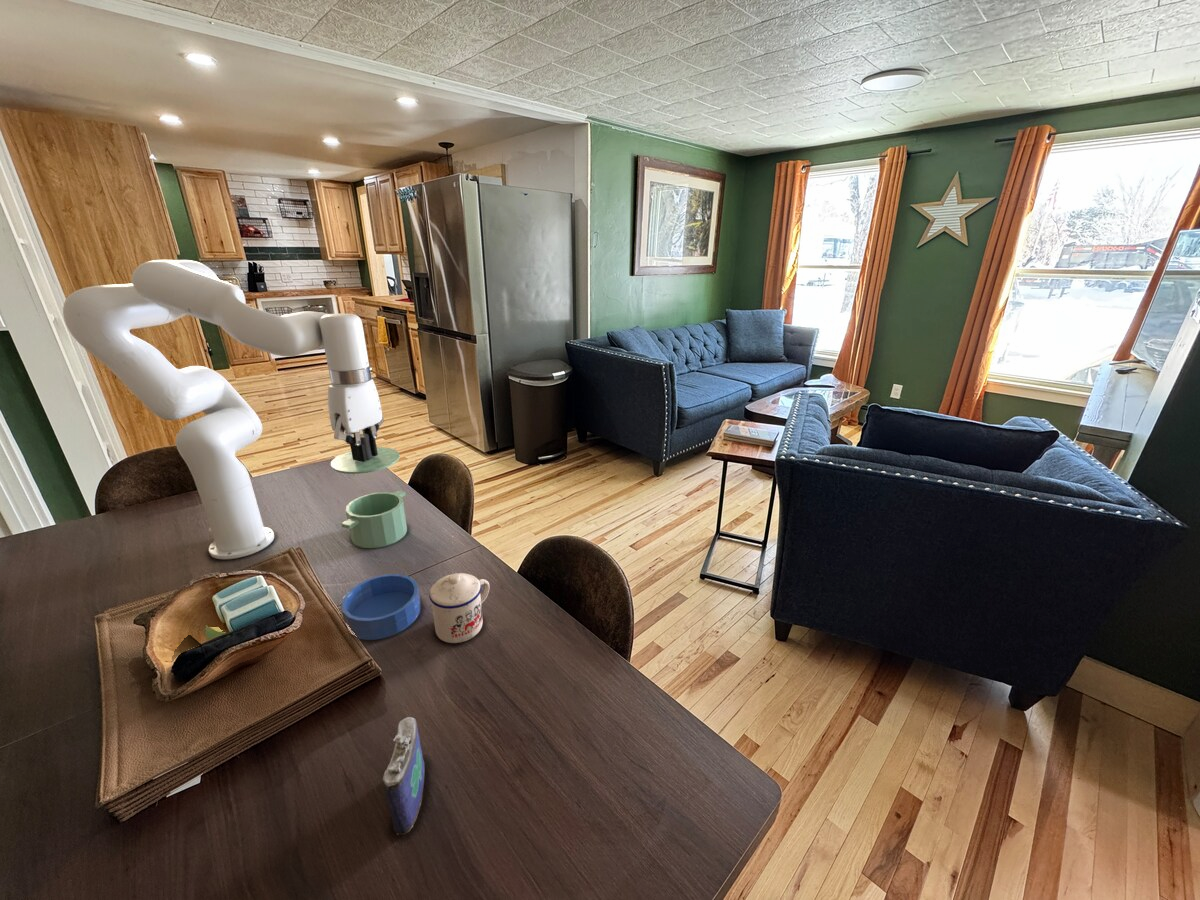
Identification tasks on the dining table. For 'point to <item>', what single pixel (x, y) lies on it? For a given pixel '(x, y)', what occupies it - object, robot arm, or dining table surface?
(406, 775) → the flask
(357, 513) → the pot
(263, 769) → the dining table surface
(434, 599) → the teacup with lid
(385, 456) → the lid
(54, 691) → the dining table surface
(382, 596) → the bowl
